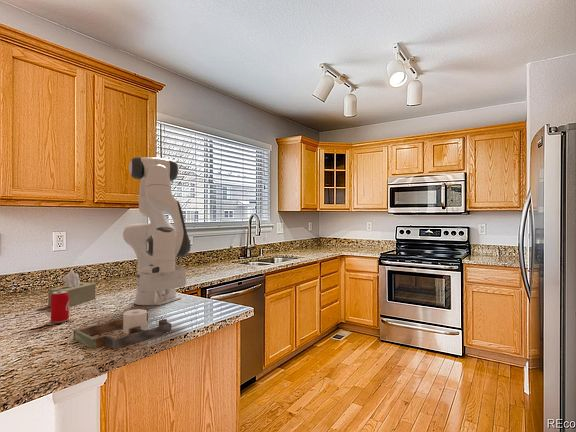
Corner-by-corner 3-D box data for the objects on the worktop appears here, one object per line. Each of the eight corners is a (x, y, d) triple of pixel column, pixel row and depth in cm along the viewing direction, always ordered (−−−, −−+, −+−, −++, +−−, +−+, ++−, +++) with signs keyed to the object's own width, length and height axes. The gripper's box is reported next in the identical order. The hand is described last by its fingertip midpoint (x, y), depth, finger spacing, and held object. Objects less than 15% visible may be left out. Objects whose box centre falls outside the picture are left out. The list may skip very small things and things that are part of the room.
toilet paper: (140, 323, 142) (140, 306, 142) (149, 331, 133) (149, 313, 133) (118, 327, 137) (118, 309, 137) (126, 335, 128) (126, 316, 128)
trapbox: (146, 319, 146) (146, 312, 146) (176, 330, 134) (176, 322, 134) (73, 338, 124) (73, 330, 124) (101, 353, 112) (101, 343, 112)
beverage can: (72, 319, 146) (72, 290, 146) (63, 323, 140) (63, 293, 140) (56, 318, 146) (57, 290, 146) (47, 323, 140) (47, 293, 139)
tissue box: (80, 297, 182) (80, 267, 182) (96, 298, 180) (96, 268, 179) (47, 306, 164) (47, 273, 163) (64, 308, 161) (64, 274, 161)
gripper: (180, 264, 154) (179, 295, 154) (136, 268, 138) (135, 303, 138) (189, 265, 151) (188, 297, 150) (145, 269, 134) (144, 306, 134)
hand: (163, 300), depth 144 cm, fingers closed
